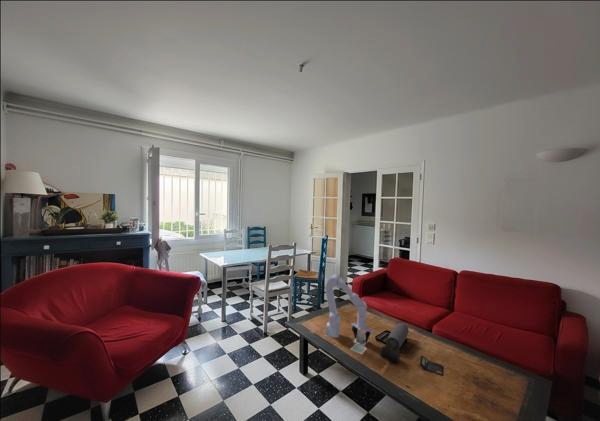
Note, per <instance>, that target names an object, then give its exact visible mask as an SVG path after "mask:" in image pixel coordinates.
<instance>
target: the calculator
mask: <svg viewBox="0 0 600 421" xmlns="http://www.w3.org/2000/svg"><path fill="white" fill-rule="evenodd" d="M419 366H420V367H421V368H423V369H424V370H425V371H427V372H430V373H433V374H436V375H439V376H443V371H444V370H443V368H444V365H443V364H440V363H437V362H435V361H431V360H428V359H427V357H425V356H424V355H420V360H419Z"/></svg>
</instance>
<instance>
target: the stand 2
mask: <svg viewBox="0 0 600 421" xmlns="http://www.w3.org/2000/svg"><path fill="white" fill-rule="evenodd" d="M367 349H368V348H367V347H366V346H363V345H360V344H357V343H354V345H352V346H351V348H350V349H349V350H350V351H353V352H354V353H357V354H360V355H363V354H364V353H365V351H366V350H367Z"/></svg>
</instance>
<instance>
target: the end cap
mask: <svg viewBox="0 0 600 421" xmlns="http://www.w3.org/2000/svg"><path fill="white" fill-rule="evenodd" d="M380 357H382V358H384V359H387V360H389V361H390V362H393V363H395V364H399V363H400V358H401V350H400V348H399V349H396V348H395V349H394V350H393V349H391V348H390V346H388V345H387V344H385V345H384V346H382V347H381V350H380Z"/></svg>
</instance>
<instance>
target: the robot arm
mask: <svg viewBox="0 0 600 421" xmlns="http://www.w3.org/2000/svg"><path fill="white" fill-rule="evenodd" d="M326 281H327V282H326V284H325V289H324V290H325V295H326V299H327V304H328V309H329V310H328V311H329V317H328V318H329V320H328V322H327V323H326V325H325V336H324V337H326V338H330V337H331V338H334V339H337V338H339V337H340V334H341V324H340V323H341V322H340V321H341V315H340V313H339V311H338V309H337V303H336V299H335V294H334V289H333V288H334V287H336V288H340V289H341V290H342V291H344V293H346V295H347V296H349V298H348V299H349V300H350V301H351V303H352V304H353V306H355V307H356V308H357V309H356V310H357V320H356V321H357V322H356V323H353V322H351V324H350V327H351V330H352V331H351V332H353V333H352V334H353V335H354V340H355V339H356V335H357V334H358V331H359V332H360V331H361V332H364V333H365V336H366V341H365V342H366V343H367V342H368V343H369V341H368V340H369V338H370V335H371V334H373V329H372V328H370V327H368V326H367V308H368V305H367V303H366V301H364V300H362V299H361V298H360V297H359V296H360V295H359V294H357V293H356V292H353V291H352V290H351V288H349V286H348V285H347V283H345V281H344V279H343V278H342V277H341V275H339V274H337V273H334V274H331V276H330V277H329V279H328V280H326ZM368 343H367V344H368Z"/></svg>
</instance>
